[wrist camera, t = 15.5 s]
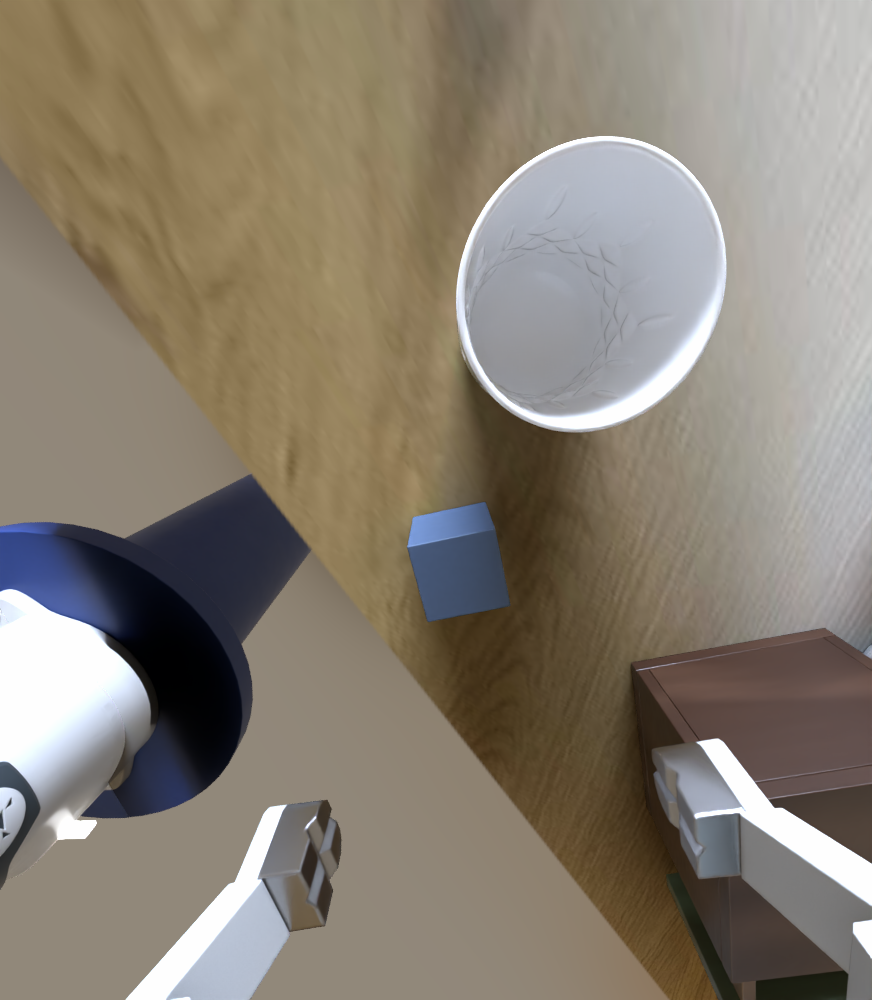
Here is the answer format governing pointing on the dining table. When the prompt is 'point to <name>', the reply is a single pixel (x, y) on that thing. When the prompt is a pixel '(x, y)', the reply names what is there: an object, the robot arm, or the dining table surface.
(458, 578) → the block
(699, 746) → the robot arm
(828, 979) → the drawer
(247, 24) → the dining table surface
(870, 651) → the soda can
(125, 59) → the dining table surface
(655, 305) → the white cup
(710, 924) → the cabinet
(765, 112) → the dining table surface
